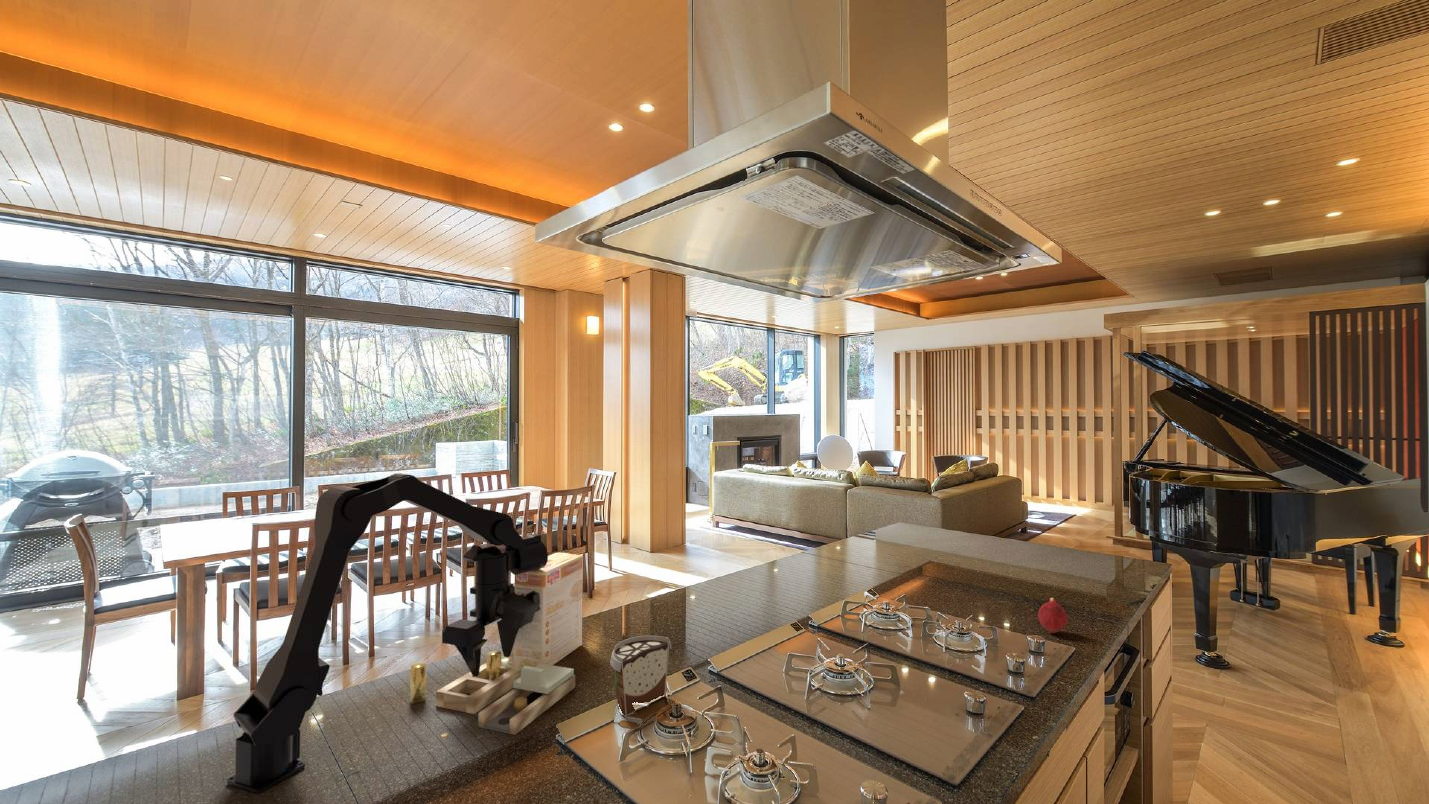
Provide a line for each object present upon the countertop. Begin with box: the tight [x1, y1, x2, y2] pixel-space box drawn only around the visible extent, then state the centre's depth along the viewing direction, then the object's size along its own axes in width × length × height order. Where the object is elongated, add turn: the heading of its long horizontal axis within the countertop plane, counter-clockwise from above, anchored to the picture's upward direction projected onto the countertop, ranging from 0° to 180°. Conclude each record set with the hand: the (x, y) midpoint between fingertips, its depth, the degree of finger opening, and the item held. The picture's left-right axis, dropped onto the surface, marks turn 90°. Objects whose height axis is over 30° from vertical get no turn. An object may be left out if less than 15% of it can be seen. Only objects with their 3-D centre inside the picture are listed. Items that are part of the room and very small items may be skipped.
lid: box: [512, 663, 575, 694], centre depth 105 cm, size 8×7×4 cm
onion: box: [1037, 597, 1068, 634], centre depth 136 cm, size 6×6×8 cm
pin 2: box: [486, 650, 502, 681], centre depth 108 cm, size 2×2×6 cm
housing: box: [477, 674, 576, 736], centre depth 101 cm, size 17×7×2 cm, turn 161°
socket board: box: [435, 662, 521, 715], centre depth 105 cm, size 12×8×2 cm, turn 161°
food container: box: [609, 635, 672, 716], centre depth 103 cm, size 12×6×10 cm, turn 141°
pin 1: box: [409, 662, 427, 705], centre depth 103 cm, size 2×2×6 cm
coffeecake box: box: [513, 552, 584, 670], centre depth 122 cm, size 15×7×20 cm, turn 161°
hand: (491, 665), depth 108 cm, fingers open, 8 cm apart
